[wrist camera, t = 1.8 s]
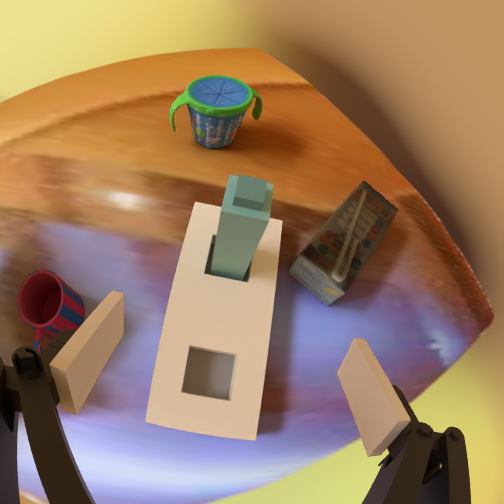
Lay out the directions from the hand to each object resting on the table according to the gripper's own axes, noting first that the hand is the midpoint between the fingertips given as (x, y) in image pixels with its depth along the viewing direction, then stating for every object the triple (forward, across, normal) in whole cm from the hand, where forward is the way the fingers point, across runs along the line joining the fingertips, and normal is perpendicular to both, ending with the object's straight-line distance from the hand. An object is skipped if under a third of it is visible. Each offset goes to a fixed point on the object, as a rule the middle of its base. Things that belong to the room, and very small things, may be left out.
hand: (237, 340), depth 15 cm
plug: (+22, -1, -4) cm, 23 cm away
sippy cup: (+39, -8, +12) cm, 42 cm away
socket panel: (+18, -1, -10) cm, 20 cm away
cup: (+13, -21, -14) cm, 28 cm away
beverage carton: (+28, +15, 0) cm, 32 cm away
